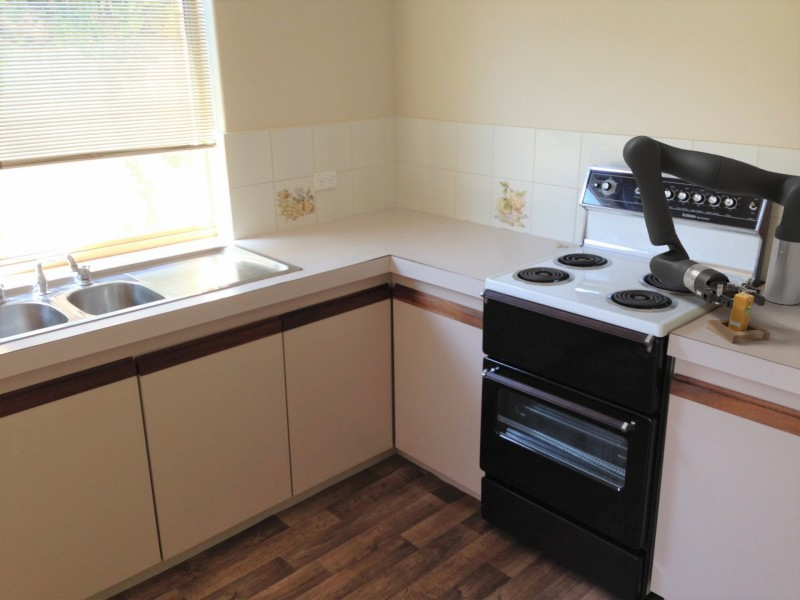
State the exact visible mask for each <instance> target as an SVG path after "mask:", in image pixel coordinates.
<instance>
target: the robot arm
mask: <svg viewBox="0 0 800 600" xmlns="http://www.w3.org/2000/svg"><path fill="white" fill-rule="evenodd" d="M622 157H623V161H624V163H625V164H626V165H627V167H628V168H629V169H630V170H631V173H632V175H633V177H634V179H635V182H636V186H637V188H638V191H639V195H640V200H641V206H642V212H643V218H644V222H645V227H646V231H647V234H648V235H647V236H648V239H649V241H650V243H651V245H653V246H655V247H662V246H667V247H668V250H667V251H665V252H662V253H659V254H656V255H654V256H653V257H652V258H651V259H650V261H649V271H650V273H651V274H652V276H653V277H655V278H656V279H657V280H659V281H662V282H665V283H671V284H675V285H676V284H679V285H681V286H683V287H685V288H687V289H688V290H690V292H692V293H694V294H695V295H696V297H697V298H698V299H700V300H701V301H703V302H705V303H707V304H709V305H712V304H713V303H715V304H716V305H721V306H723V307H725V308H727V309H732V308H733V303H734V297H735V295H736V294H740V293H742V292H744V293H747V294H750V295H752V296H754V300H753V304H755V305H757V306H760V307H762V306H765V303H766V301H768V302H771V303H775V304H778V305H779V304H780V305H789V306H792V305H798V304H800V175H795V174H788V173H781V172H776V171H771V170H766V169H764V168H761V167H758V166H755V165H753V164H750V163H747V162H746V161H745V162H744V161H742V160H738V159H735V158H731V157H728V156H724V155H720V154H716V153H715V154H714V153H710V152H704V151H699V150H692V149H684V148H680V147H676V146H673V145H670V144H667V143H665V142H661V141H659V140H657V139H654V138H652V137H650V136H647V135H636V136H634V137H632V138H630V139H629V140H628V141H626V143H625V144H624V146H623V149H622ZM663 174H666V175H667V174H668V175H670V176H673V177H676V178H678V179H680V180H683V181H685V182H687V183H689V184H691V185H694V186H697V187H699V188H703V189H705V190H708V191H709V190H710V191H713V192H717V193H719V194H725V195H731V196H741V197H743V196H745V197H755V198H759V199H763V200H766V201H768V202H771V203H774V204H777V205H779V206H782V207H783V210H782V215H781V218H780V219H781V220H780V222H779V224H778V225H776V227H775V231H774V235H773V241H772V247H771V253H770V257H769V258H770V259H769V262H768V269H767V274H766V280H765V285H764V290H763V295H761V293H762V289H761V288H758V287H755V286H753V285H751V284H748V283H746V282H742V283H741V285H738V284H735V283H733V282H731V280H730V279H729V277H728V276H727V275H726V274H725V273H723V272H720V271H718V270H716V269H714V268H712V267H710V266H708V265H704V264H701V263H699V262H697V261H694V260H692V259H690V255H689V254H688V251H687V250H686V248H685V247H684V246H683V243H682V241H681V240H680V238H679V236H678V234H677V231H676V227H675V224H674V223H675V222H674V219H673V215H672V211H671V208H670V206H669V205H670V204H669V203H668V197H667V195H666V192H665V187H664V186H665V185H664V180H663Z"/></svg>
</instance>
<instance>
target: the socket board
mask: <svg viewBox="0 0 800 600" xmlns="http://www.w3.org/2000/svg"><path fill="white" fill-rule="evenodd" d="M729 321H730V317H729V318H718V319H709V320H708V319H707V321H706V327H705V329H707V330H709V331H710V330H711V332H712V333H713V334H715V333H716V334H715V335H717V336H719V337H720V336H721V337H720V338H723V339H724V340H726V341H727V342H729V343H731V345H732V344H734V345H735V344H743V343H752V342H753V343H754V342H762V341H770V339H771V338H770V337H771V333H772V332H771V331H769V330H767V329H766V328H764V327H761V325H758V324H756V323H755V322H752V321H751V320H749V322H748V327H747V331H739V332H735V331H733V330H732V329H730V328H728V325H729Z"/></svg>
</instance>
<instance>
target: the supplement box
mask: <svg viewBox="0 0 800 600" xmlns="http://www.w3.org/2000/svg"><path fill="white" fill-rule="evenodd" d="M753 300H754V296H752V295H750V294H747V293H744V292H742V293H740V292H739V293H738V294H736V295H735V297H734V299H733V301H734V303H733V308H731V311H730V312H731V313H730V316H729V318H730V321H729V325H728V328H730V329H732V330H733V331H735V332H739V331H747V327H748V322H749V321H750V317H751V313H752V308H753V304H754V303H753Z"/></svg>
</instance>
